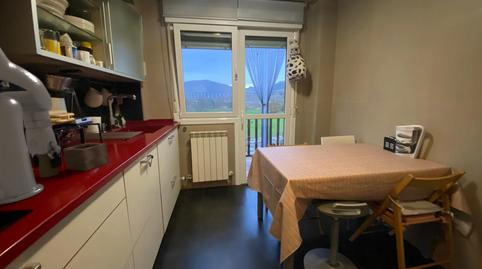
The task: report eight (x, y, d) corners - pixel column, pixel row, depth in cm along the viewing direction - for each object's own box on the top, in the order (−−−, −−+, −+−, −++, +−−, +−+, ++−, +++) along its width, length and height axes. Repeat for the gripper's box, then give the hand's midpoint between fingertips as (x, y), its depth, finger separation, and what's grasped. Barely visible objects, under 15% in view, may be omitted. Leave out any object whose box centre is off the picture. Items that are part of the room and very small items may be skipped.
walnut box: (86, 170, 90) (82, 149, 88) (67, 168, 93) (63, 148, 91) (109, 162, 100) (105, 143, 98) (91, 161, 103) (87, 142, 101)
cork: (62, 170, 91) (56, 145, 89) (55, 175, 85) (49, 149, 83) (44, 173, 89) (38, 147, 87) (36, 178, 83) (29, 151, 81)
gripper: (11, 126, 82) (22, 168, 85) (42, 126, 77) (52, 171, 80) (34, 123, 89) (43, 162, 92) (64, 123, 84) (73, 164, 87)
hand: (47, 166), depth 86 cm, fingers open, 9 cm apart
